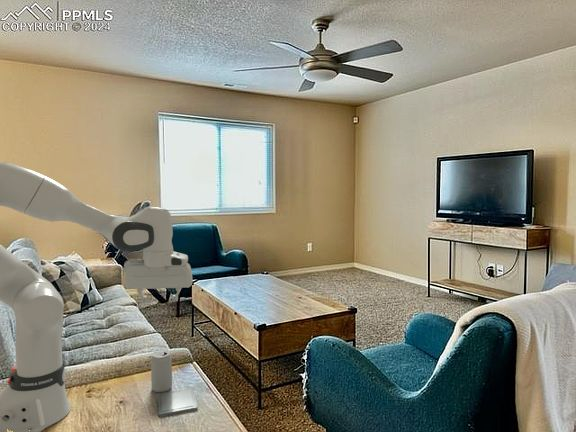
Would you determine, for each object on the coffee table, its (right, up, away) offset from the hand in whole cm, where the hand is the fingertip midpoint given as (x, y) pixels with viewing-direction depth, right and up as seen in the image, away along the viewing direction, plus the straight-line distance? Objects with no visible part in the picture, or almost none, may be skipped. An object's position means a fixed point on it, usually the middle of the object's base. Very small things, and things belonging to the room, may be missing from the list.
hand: (159, 301), depth 124 cm
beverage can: (-1, -30, +4) cm, 30 cm away
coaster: (+6, -30, -3) cm, 31 cm away
